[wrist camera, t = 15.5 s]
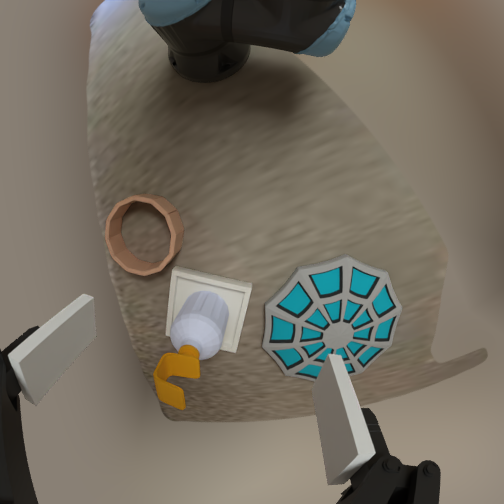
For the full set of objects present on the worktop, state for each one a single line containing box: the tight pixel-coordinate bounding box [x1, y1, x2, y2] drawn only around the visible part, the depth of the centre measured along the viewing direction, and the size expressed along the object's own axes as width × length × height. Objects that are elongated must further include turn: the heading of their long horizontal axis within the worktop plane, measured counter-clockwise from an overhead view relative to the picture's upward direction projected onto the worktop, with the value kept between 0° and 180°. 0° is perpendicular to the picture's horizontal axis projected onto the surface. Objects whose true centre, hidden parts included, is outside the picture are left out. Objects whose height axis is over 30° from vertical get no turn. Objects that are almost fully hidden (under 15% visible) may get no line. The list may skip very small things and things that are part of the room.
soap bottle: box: [153, 291, 229, 410], centre depth 41 cm, size 9×9×25 cm
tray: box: [166, 266, 252, 353], centre depth 52 cm, size 15×15×2 cm
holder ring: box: [105, 193, 184, 276], centre depth 47 cm, size 14×14×5 cm
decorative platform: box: [262, 254, 402, 382], centre depth 52 cm, size 31×29×5 cm
